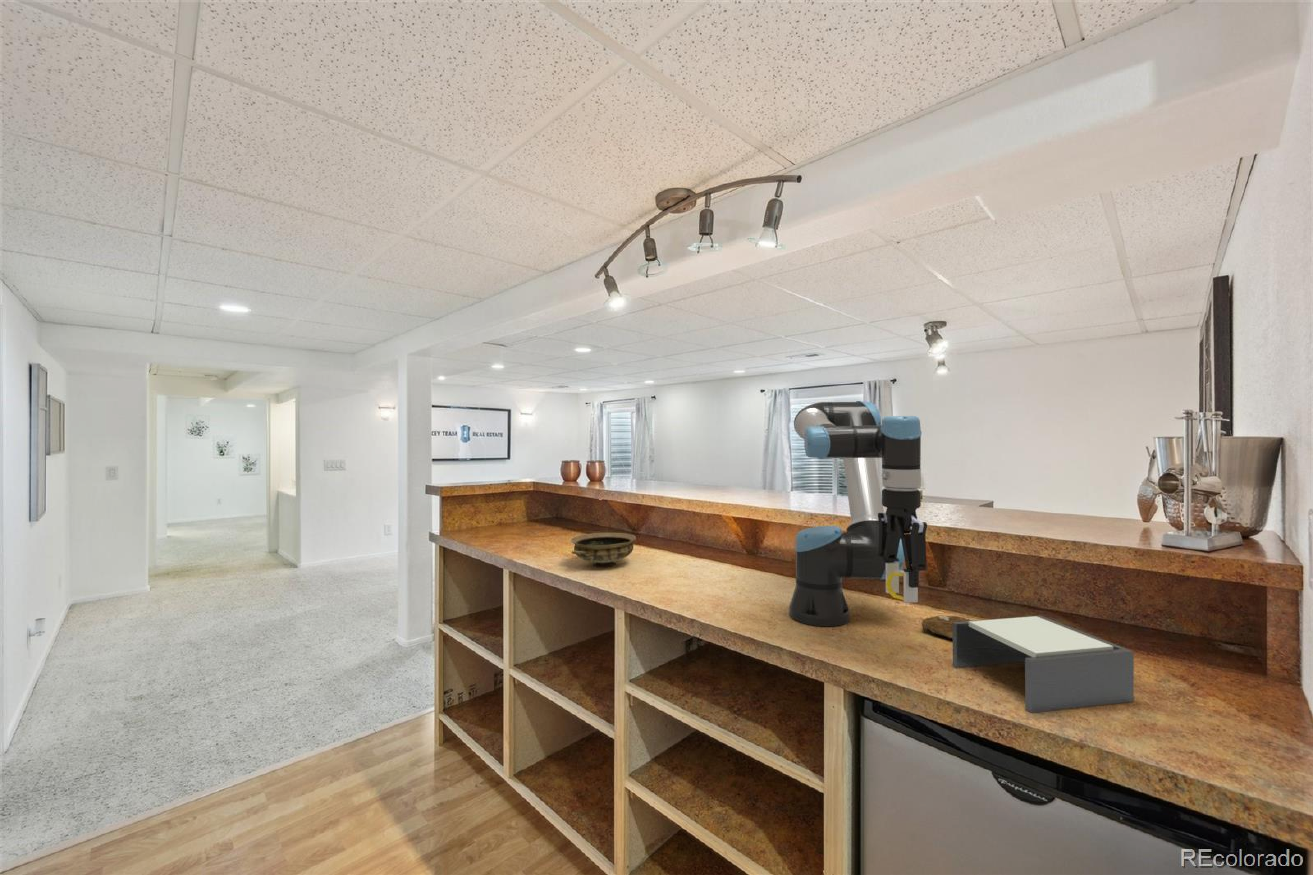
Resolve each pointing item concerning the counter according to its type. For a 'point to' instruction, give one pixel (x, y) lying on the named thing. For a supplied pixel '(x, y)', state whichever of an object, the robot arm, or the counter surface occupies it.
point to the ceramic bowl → (603, 547)
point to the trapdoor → (1038, 636)
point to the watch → (888, 584)
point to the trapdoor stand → (1054, 670)
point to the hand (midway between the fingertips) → (901, 596)
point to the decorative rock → (942, 624)
